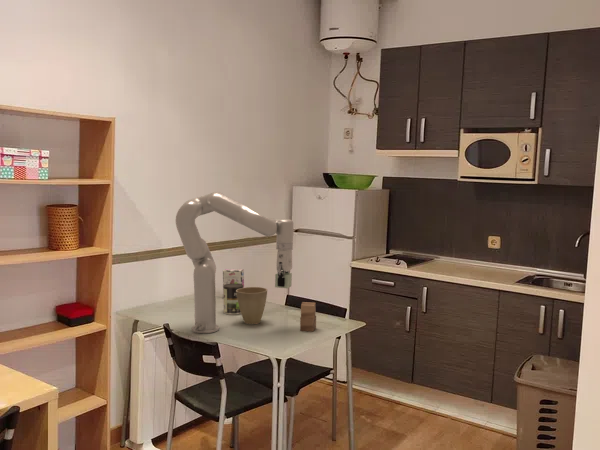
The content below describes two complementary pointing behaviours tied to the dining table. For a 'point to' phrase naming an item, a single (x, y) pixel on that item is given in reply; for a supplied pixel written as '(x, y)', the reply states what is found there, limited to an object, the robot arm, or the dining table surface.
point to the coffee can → (231, 299)
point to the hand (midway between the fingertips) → (283, 284)
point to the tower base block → (307, 324)
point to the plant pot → (252, 303)
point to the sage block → (287, 280)
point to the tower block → (308, 310)
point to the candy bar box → (233, 277)
